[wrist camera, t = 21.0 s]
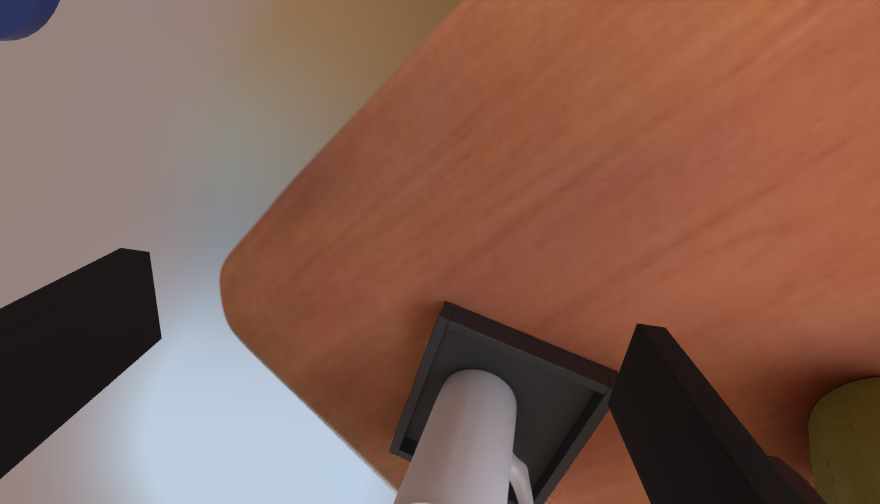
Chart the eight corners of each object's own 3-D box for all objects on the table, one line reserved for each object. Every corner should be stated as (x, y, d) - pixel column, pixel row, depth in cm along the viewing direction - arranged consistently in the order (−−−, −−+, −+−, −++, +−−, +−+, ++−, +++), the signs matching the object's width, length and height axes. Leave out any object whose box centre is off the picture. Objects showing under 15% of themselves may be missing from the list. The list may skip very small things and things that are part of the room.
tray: (397, 433, 40) (388, 452, 38) (445, 300, 33) (438, 315, 31) (535, 496, 38) (533, 519, 36) (617, 371, 31) (621, 392, 29)
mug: (422, 392, 36) (363, 529, 25) (474, 350, 33) (431, 486, 22) (509, 466, 37) (488, 629, 26) (568, 431, 34) (570, 601, 23)
